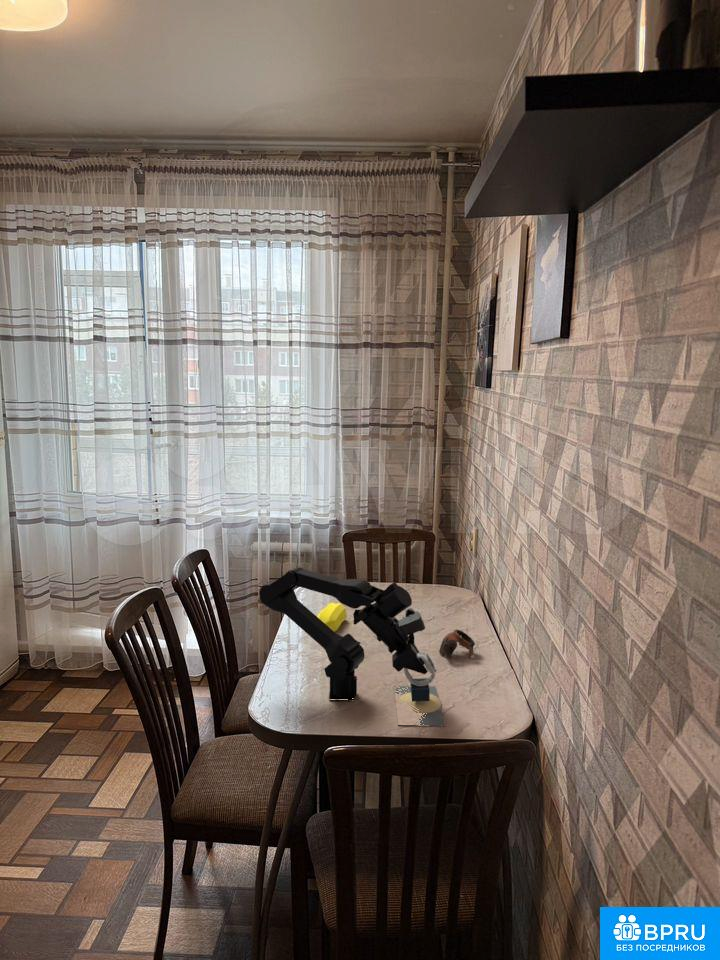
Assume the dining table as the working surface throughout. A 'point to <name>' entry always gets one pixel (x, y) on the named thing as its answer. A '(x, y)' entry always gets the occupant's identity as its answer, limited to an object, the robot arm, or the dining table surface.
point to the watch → (421, 680)
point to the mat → (425, 706)
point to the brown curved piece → (451, 643)
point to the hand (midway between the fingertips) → (425, 668)
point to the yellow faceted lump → (333, 615)
